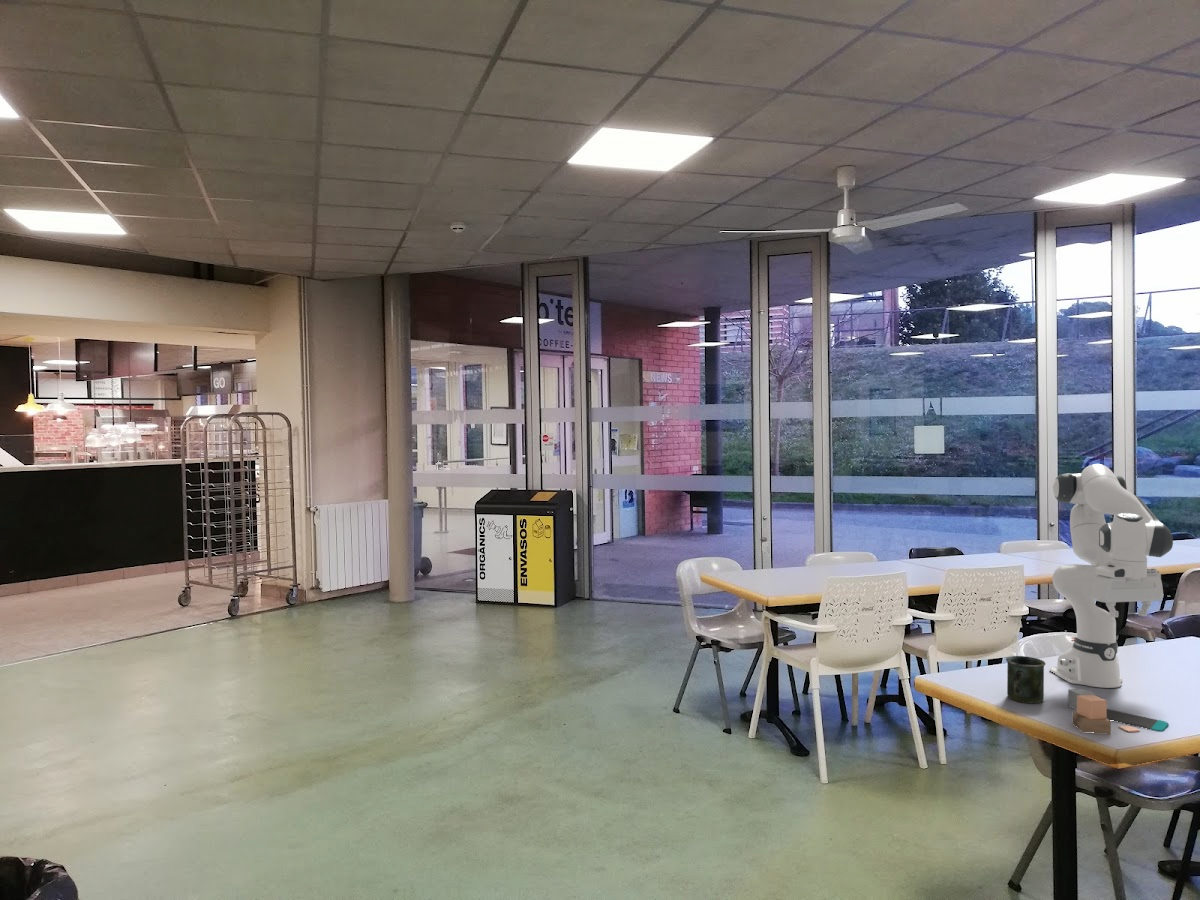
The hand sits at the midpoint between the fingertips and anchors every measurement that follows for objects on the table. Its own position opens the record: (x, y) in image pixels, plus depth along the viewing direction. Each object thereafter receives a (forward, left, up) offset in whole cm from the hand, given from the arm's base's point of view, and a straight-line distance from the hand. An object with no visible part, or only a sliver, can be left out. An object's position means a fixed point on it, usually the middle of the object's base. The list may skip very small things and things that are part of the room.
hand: (1128, 616), depth 235 cm
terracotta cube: (+8, -19, -26) cm, 33 cm away
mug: (-17, -21, -29) cm, 40 cm away
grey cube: (-8, -9, -29) cm, 31 cm away
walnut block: (+8, -19, -30) cm, 36 cm away
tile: (+10, -9, -29) cm, 32 cm away
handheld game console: (+3, -3, -30) cm, 30 cm away
